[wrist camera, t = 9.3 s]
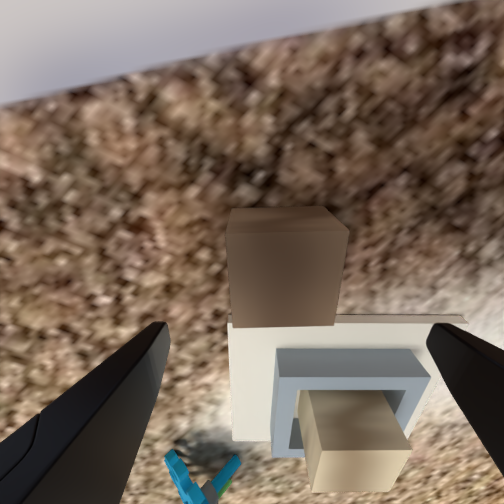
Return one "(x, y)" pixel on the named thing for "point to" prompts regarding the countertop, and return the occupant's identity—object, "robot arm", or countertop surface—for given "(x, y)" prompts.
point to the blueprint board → (328, 371)
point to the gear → (193, 497)
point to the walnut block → (284, 266)
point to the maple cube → (351, 440)
